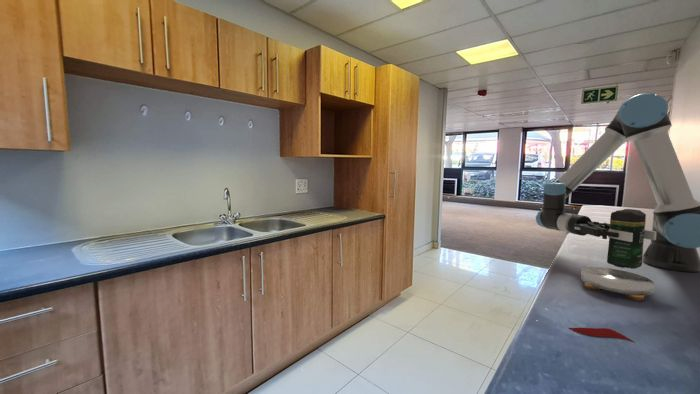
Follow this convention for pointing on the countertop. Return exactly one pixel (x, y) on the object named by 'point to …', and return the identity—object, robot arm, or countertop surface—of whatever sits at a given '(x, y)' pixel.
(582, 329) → the curved red sliver
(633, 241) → the coffee jar
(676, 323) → the countertop surface
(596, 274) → the plate
